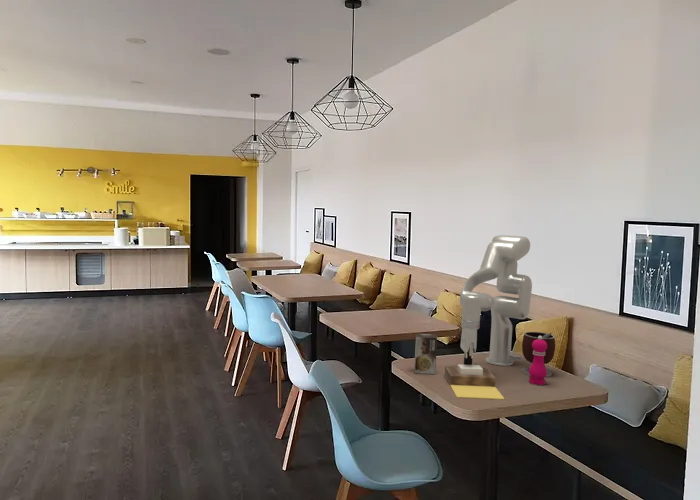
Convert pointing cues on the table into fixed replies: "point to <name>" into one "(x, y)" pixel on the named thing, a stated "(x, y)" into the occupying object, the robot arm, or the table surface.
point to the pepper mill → (538, 362)
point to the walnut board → (469, 377)
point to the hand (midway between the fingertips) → (467, 366)
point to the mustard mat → (476, 392)
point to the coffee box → (425, 353)
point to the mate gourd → (528, 349)
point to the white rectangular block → (470, 369)
